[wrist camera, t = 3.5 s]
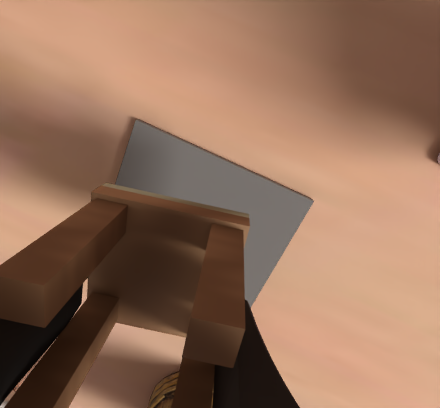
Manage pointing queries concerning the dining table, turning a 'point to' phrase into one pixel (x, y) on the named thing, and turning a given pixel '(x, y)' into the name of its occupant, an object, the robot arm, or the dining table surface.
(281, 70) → the dining table surface
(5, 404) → the square plate
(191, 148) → the mat
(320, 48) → the dining table surface
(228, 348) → the stool
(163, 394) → the wooden mug
